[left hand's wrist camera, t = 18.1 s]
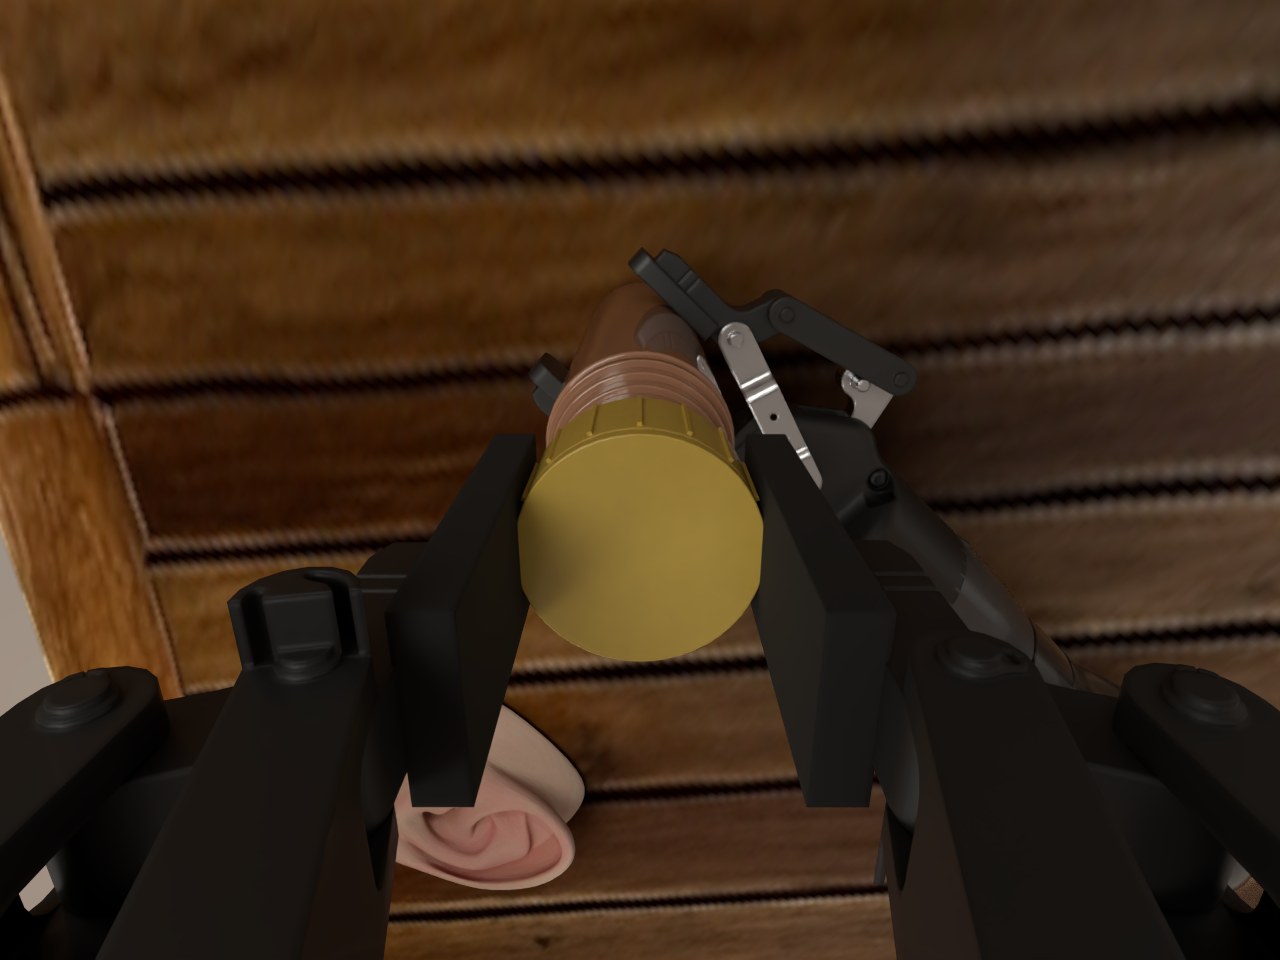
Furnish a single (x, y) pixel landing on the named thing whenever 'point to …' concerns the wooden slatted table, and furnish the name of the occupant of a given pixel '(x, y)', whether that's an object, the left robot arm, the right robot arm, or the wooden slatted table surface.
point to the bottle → (639, 361)
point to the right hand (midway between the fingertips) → (586, 312)
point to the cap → (640, 531)
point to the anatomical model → (499, 817)
